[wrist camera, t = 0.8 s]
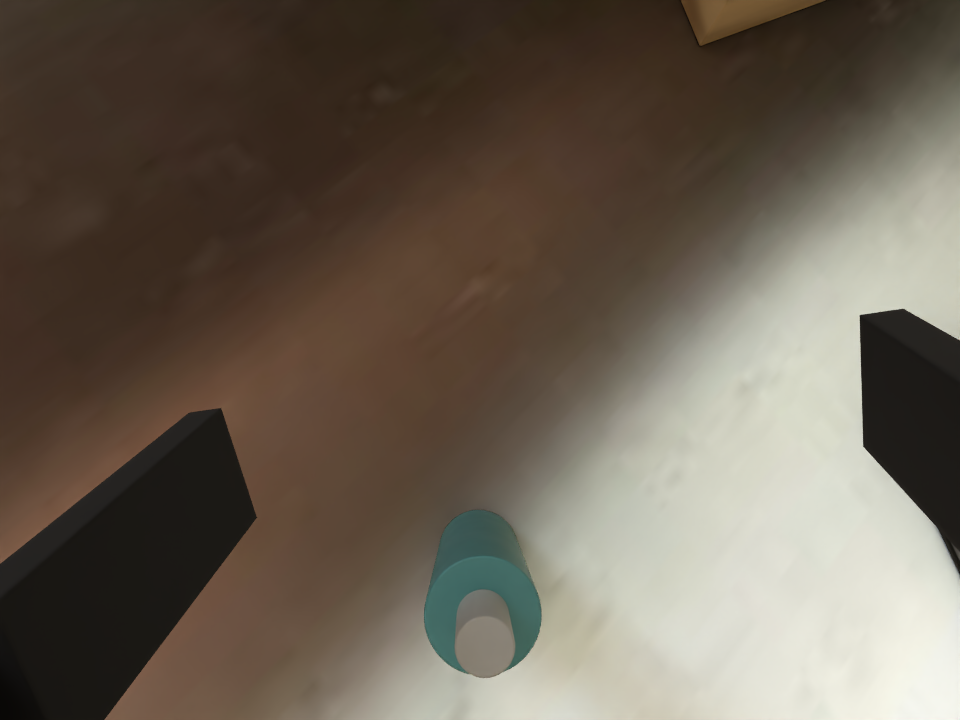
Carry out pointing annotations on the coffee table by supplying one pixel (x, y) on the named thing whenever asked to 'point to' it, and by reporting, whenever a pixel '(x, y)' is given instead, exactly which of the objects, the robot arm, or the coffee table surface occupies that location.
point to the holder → (735, 15)
